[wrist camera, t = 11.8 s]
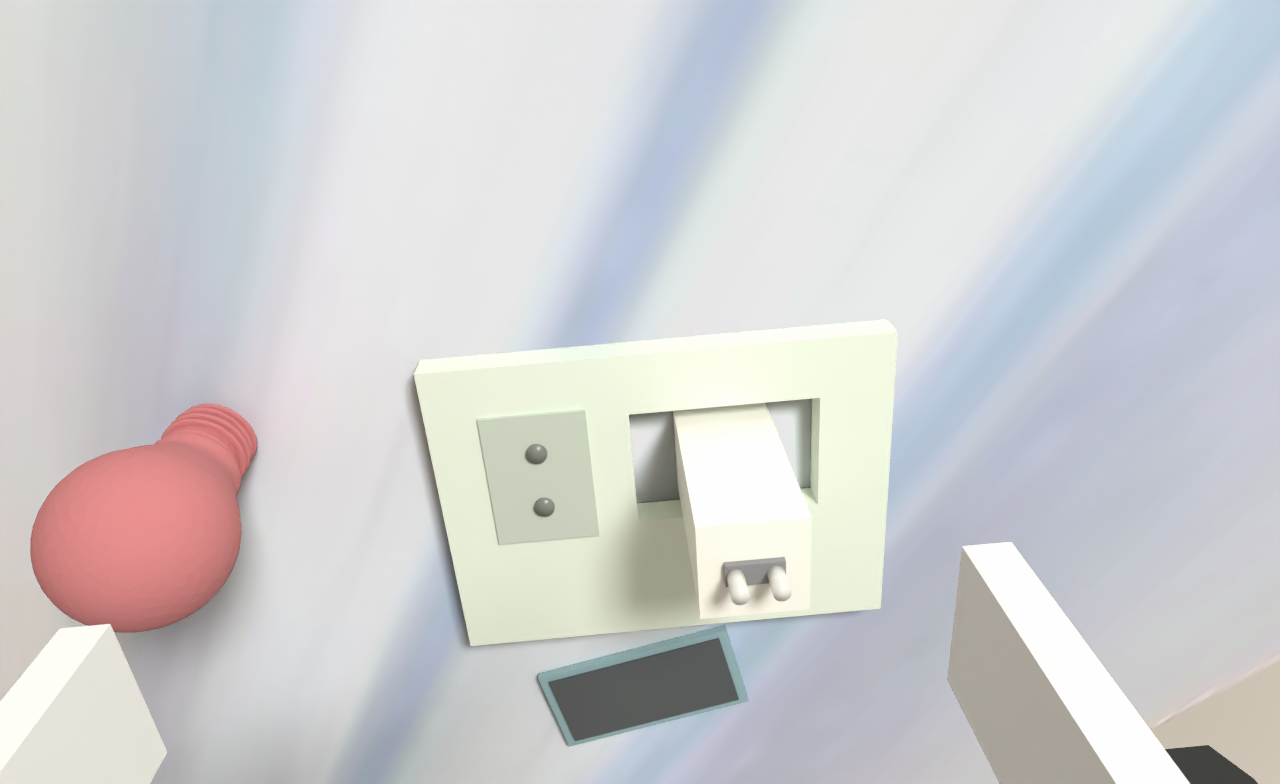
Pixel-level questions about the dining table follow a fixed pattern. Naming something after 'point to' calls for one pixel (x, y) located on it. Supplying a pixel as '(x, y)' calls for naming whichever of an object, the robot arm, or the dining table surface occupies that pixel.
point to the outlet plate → (605, 483)
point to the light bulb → (147, 525)
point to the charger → (741, 512)
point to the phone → (644, 686)
